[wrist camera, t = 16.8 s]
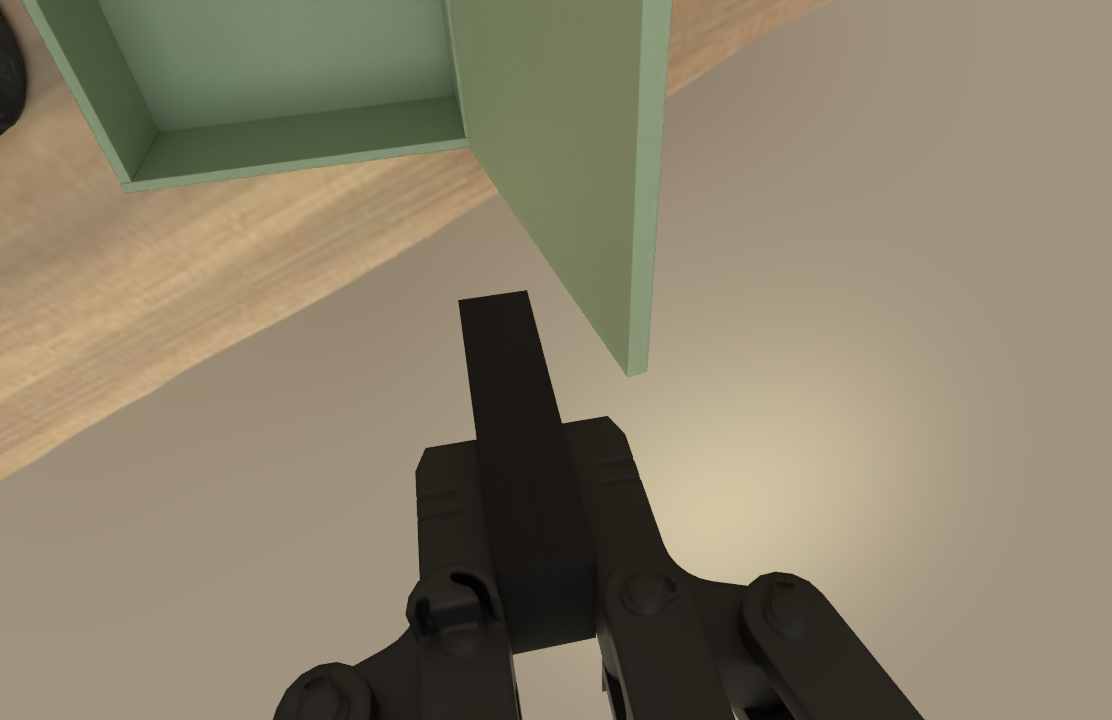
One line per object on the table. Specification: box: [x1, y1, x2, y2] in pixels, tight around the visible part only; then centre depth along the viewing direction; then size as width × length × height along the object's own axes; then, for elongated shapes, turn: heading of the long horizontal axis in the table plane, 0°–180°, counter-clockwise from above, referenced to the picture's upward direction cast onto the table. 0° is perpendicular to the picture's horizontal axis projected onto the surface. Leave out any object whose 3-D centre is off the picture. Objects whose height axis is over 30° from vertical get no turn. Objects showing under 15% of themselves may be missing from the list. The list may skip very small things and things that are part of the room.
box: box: [21, 0, 471, 193], centre depth 35 cm, size 19×14×7 cm
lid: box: [450, 0, 672, 377], centre depth 26 cm, size 20×14×1 cm
